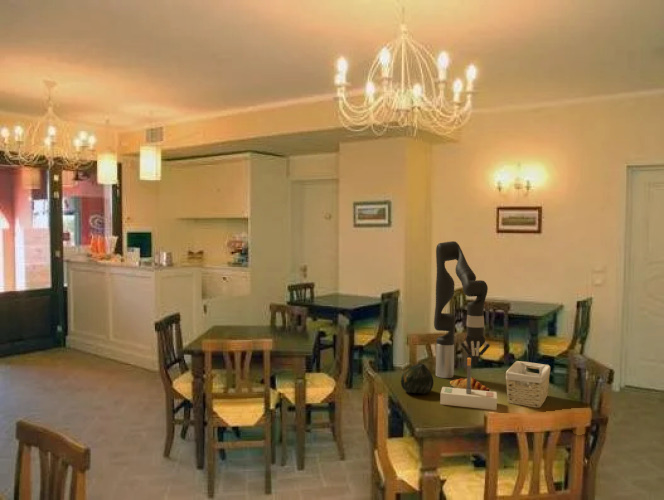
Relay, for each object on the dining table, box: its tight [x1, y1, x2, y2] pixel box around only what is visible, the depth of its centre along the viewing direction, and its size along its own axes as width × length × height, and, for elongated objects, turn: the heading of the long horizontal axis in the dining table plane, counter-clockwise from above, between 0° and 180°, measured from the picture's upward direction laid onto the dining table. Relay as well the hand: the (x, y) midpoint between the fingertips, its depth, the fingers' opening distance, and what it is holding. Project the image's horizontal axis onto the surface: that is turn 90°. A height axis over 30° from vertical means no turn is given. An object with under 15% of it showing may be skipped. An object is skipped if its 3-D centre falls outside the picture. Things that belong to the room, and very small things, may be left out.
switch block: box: [439, 386, 498, 411], centre depth 249 cm, size 20×24×7 cm
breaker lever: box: [466, 357, 472, 389], centre depth 243 cm, size 3×2×14 cm, turn 164°
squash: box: [400, 363, 434, 395], centre depth 259 cm, size 14×15×15 cm
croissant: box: [449, 377, 491, 391], centre depth 264 cm, size 21×10×8 cm, turn 48°
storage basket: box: [505, 360, 551, 408], centre depth 251 cm, size 24×16×15 cm
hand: (475, 364), depth 243 cm, fingers closed
